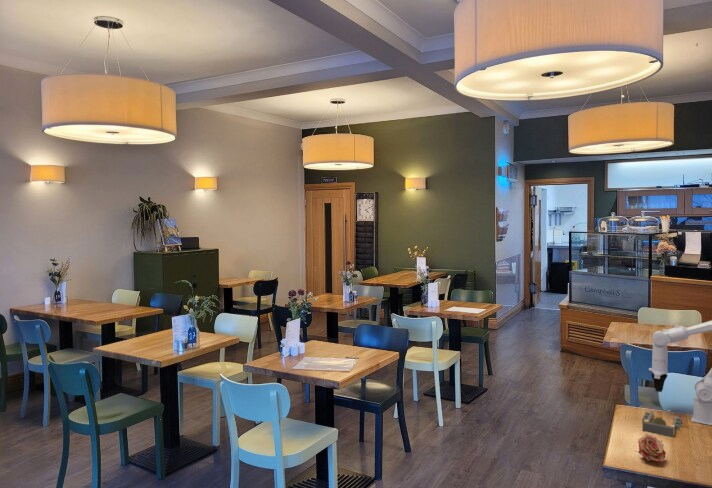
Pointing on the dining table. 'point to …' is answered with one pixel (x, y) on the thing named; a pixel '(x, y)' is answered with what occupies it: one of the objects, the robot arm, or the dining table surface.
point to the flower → (651, 448)
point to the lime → (659, 421)
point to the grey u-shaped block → (660, 425)
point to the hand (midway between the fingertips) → (659, 391)
